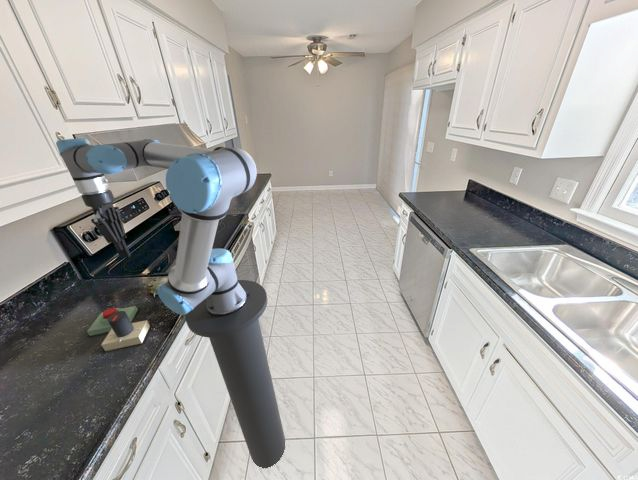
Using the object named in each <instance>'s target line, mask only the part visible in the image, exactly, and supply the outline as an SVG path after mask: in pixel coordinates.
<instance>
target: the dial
mask: <svg viewBox="0 0 638 480" xmlns="http://www.w3.org/2000/svg"><path fill="white" fill-rule="evenodd" d="M108 322H109V324H110V326H111V327H112V329H113V331H114V333H115V334H116V336H117V337H124V336H127V335H128V334H130V333H131V332H132V331H133V329H134V327H133V325H132V323H133V322H132V321H130V319H129V317H128V316H127V314H126V312H125V311H119V312H116V313H114V314H112V315H111V316H109V318H108Z"/></svg>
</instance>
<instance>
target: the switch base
mask: <svg viewBox="0 0 638 480" xmlns="http://www.w3.org/2000/svg"><path fill="white" fill-rule="evenodd" d="M115 308H116V310H117V312H119V311H125V312H126V314H127V316H128V317H129V319H130V321H131V322H133V319H134V318H135V316H136V315H137V313H138V311H139V309H138V308H137V306H136V305H134V306H129V307H123V308H121V307H115ZM103 312H104V311H102V312H100V314H99V315H98V316H97V318H96V319H95V320H94V321H93V323H92V324H91V326H90V327H89V328H88V330H86V332H87V334H88V335H89V337H91V336H96V335H102V334H106V333H107V334H108V333H109V332H110V331H111V329H112V327H111V326H110V324H109V322H108V319H105V318H104V316H103Z"/></svg>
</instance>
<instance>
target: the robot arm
mask: <svg viewBox="0 0 638 480" xmlns="http://www.w3.org/2000/svg"><path fill="white" fill-rule="evenodd" d="M55 145H56V147H57V150H58V153H59V156H60V157H61V158H62V160H63V163H64V164H65V166H66V169H67V171H68V172H69V175H70V177H71V178H72V180H73V182H74V185H75V187H76V189H77V191H78V193H79V194H81V196H80V197H81V200H82V202H84V205H85V206H86V207H88V208H91V209H92V213H93V215H94V218H91V219H90V221H91V223H92V224H93V225H94V226H96V228H97V229H98V231H99V232H100V233H101V235H102V237H103V238H104V239H105V241H106V242H107V244H113V245H114V247H115V249H116V252H117V254H118V256H119V258H120V259H127V258H130V257H131V255H132V254H131V252H130V250H129V248H128V245H127V243H126V240H125V239H127V235H126V230H125V227H124V224H123V220H122V216H121V212H120V207H119V206H114V204H113V203H114V202H115V201H116V198H115V197H114V194H113V192H112V190H111V189H110V185H109V183H108V182H109V180H108V179H107V178H106V176H105V175H112V174H119V173H121V172H123V171H125V170H130V169H136V168H141V167H153V168H160V169H165V170H167V171H166V174H165V187H166V191H167V192H169V194H168V196H169V198H170V200H171V201H172V203H173V204H174V206H176V208H177V209H178V210H179V212H181V219H180V227H179V228H180V229H179V234H178V243H177V249H176V250H177V251H176V257H175V264H174V265H173V266H172V267H171V269H170V270H169V272H168V275H167V277H168V281H167V282H166V283H165V284H162V285H161V286H160V287H159V288H158V290H157V292H158V294H157V296H158V297H159V299H160V301H161V302H162V303H163V305H165V306H166V307H167V308H168V309H169V310H170V311H171V312H173V313H175V314H177V315H181V316H185V314H187V313H188V312H190V311H191V310H193V308H195V307H196V306H197V305H198V304H200V303H201V302H202V301H203V300H204V299H206V298H207V299H206V308H207V311H208V312H209V313H210V314H211V315H214V316H226V315H230V314H233V313H235V312H237V311H238V310H240V309H241V308H242V307H243V306H244V305H245V304H246V301H247V296H246V294H250V292H245V291H244V289H243V288H242V287H241V285H240V284H239V283H238V280H239V279H238V275H237V271H236V266H235V263H234V259H233V256H232V252H231V251H229V250H228V249H225V248H213V246H214V243H215V238H216V233H217V230H218V225H219V221H220V220H222V219H224V218H225V217H226V216H227V214H228V212H229V208H230V204H231V200H232V199H233V198H235V197H237V196H239V195H242V194H244V193H246V192H247V191H249V190H250V189H251V188H252V187H253V186H254V184H255V183H256V180H257V176H258V175H257V174H258V169H257V165H256V162H255V160H254V158H253V157H252V156H251V154H250V153H248V151H246V150H244V149H242V148H239V147H234V146H233V147H229V146H228V147H227V146H216V147H214V148H213V149H212V148H204V147H197V146H188V145H180V144H172V143H166V142H165V143H164V142H160V141H159V140H158V139H151V138H150V139H149V138H148V139H147V138H145V139H141V140H133V141H126V142H114V143H106V144H96V145H95V144H94V145H93V144H92V143H91V141H90V140H89V139H88V138H86V137H77V138H65V139H58V140H56V142H55Z"/></svg>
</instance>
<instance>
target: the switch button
mask: <svg viewBox="0 0 638 480" xmlns="http://www.w3.org/2000/svg"><path fill="white" fill-rule="evenodd" d="M116 308H117V307H110V308H107V309H105V310H104V311H102V312H103V316H104V318H105V319H108V318H109V316H111V315H112V314H114V313H116V312H117V310H116Z"/></svg>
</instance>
